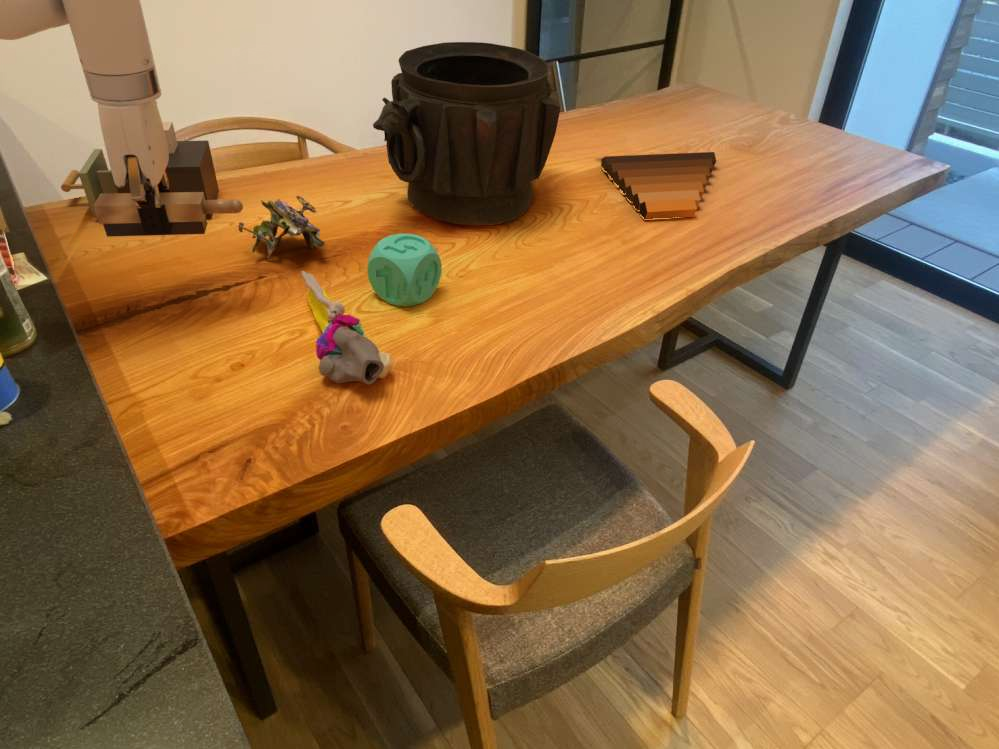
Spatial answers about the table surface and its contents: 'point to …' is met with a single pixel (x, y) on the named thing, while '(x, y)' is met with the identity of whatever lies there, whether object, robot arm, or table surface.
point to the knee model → (343, 341)
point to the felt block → (170, 136)
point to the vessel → (469, 129)
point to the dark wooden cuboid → (189, 171)
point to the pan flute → (662, 181)
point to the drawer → (92, 179)
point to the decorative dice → (404, 269)
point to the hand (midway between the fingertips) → (160, 224)
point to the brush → (180, 207)
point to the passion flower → (285, 225)
